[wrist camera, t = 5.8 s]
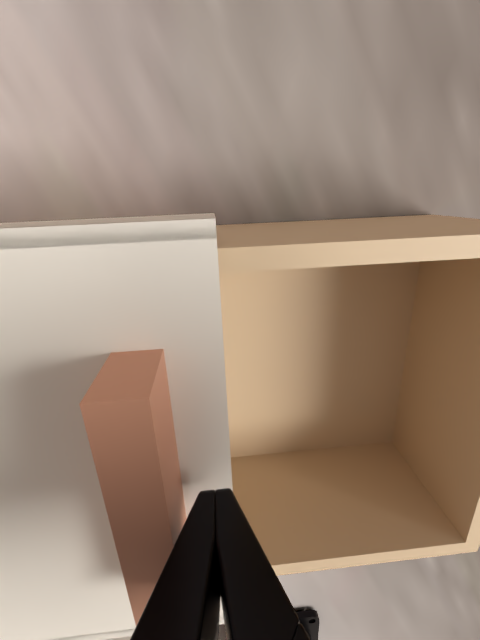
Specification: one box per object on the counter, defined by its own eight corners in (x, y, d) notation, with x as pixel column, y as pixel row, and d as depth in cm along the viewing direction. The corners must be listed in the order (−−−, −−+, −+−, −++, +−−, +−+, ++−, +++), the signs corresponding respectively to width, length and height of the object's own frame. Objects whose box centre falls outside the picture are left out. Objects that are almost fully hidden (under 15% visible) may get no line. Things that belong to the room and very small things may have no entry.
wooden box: (395, 441, 19) (477, 551, 13) (80, 472, 17) (18, 607, 12) (432, 214, 14) (580, 229, 9) (14, 234, 13) (-136, 267, 7)
